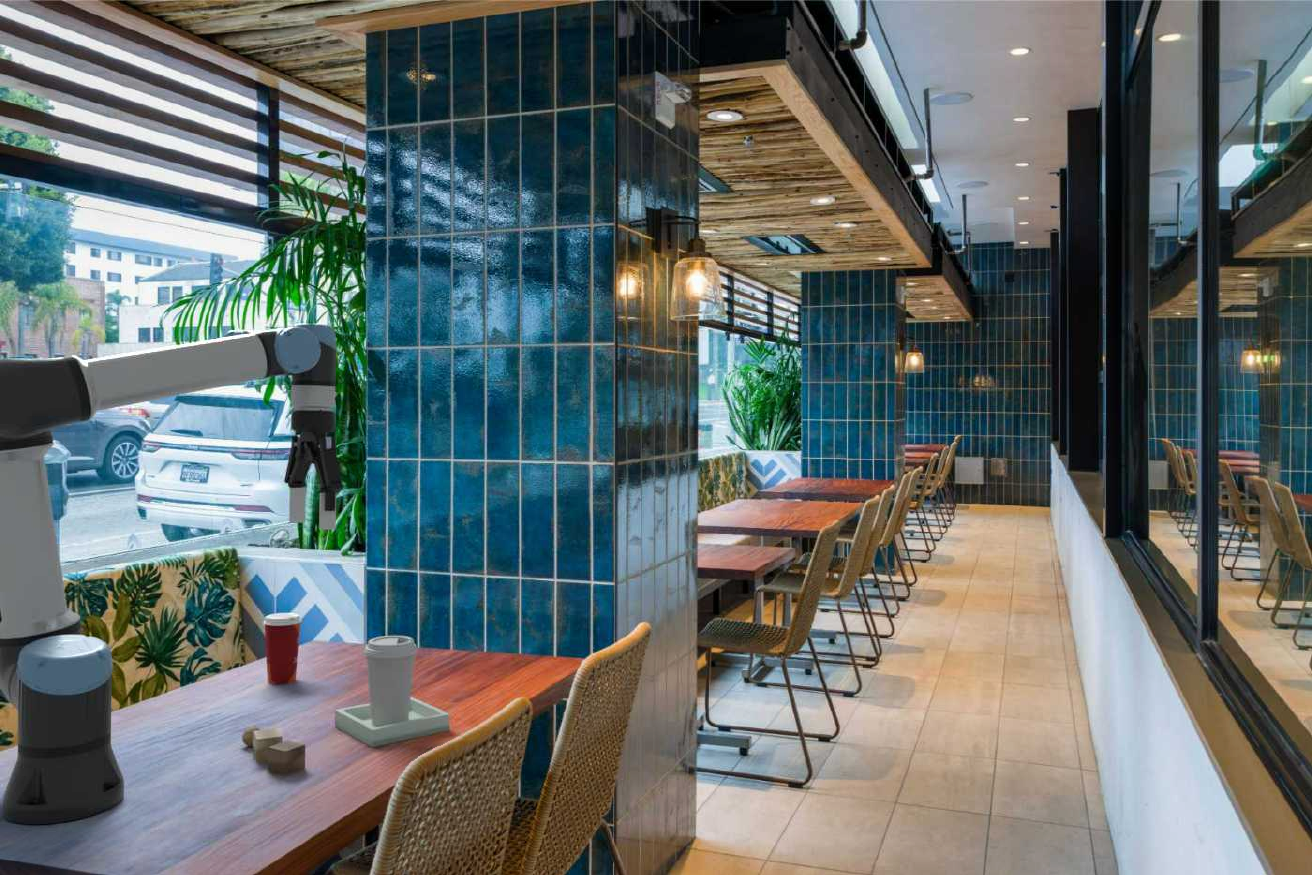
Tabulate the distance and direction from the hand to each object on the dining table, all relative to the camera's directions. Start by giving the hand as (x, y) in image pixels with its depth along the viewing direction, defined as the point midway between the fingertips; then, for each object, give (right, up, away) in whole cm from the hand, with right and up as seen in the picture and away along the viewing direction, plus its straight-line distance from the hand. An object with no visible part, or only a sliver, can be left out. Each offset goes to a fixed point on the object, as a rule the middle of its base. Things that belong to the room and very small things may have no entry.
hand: (311, 526), depth 182 cm
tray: (+15, -37, 0) cm, 40 cm away
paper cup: (-17, -36, +31) cm, 50 cm away
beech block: (-2, -37, -16) cm, 40 cm away
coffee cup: (+14, -36, 0) cm, 39 cm away
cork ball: (-7, -37, -11) cm, 39 cm away
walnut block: (+4, -37, -22) cm, 44 cm away
